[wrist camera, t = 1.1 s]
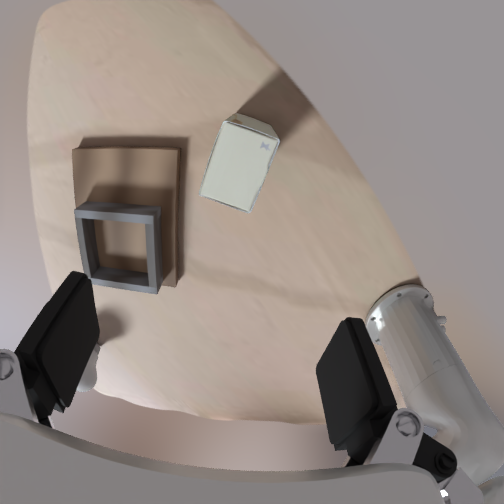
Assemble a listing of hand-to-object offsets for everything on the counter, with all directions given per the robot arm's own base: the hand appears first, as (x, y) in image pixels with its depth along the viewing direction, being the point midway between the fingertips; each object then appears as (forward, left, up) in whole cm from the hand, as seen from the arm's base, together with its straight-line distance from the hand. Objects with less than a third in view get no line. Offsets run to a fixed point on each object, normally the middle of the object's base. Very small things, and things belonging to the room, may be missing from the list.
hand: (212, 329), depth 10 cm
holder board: (+14, +7, -25) cm, 30 cm away
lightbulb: (+24, +33, -25) cm, 48 cm away
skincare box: (0, -3, -25) cm, 25 cm away
